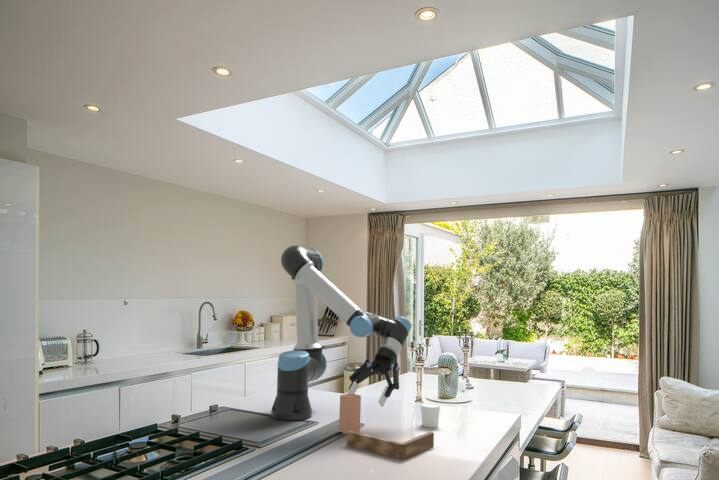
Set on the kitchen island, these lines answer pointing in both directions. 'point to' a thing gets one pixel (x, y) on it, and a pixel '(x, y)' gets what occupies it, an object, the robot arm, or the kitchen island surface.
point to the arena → (391, 444)
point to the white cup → (430, 414)
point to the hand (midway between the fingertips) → (364, 401)
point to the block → (349, 413)
